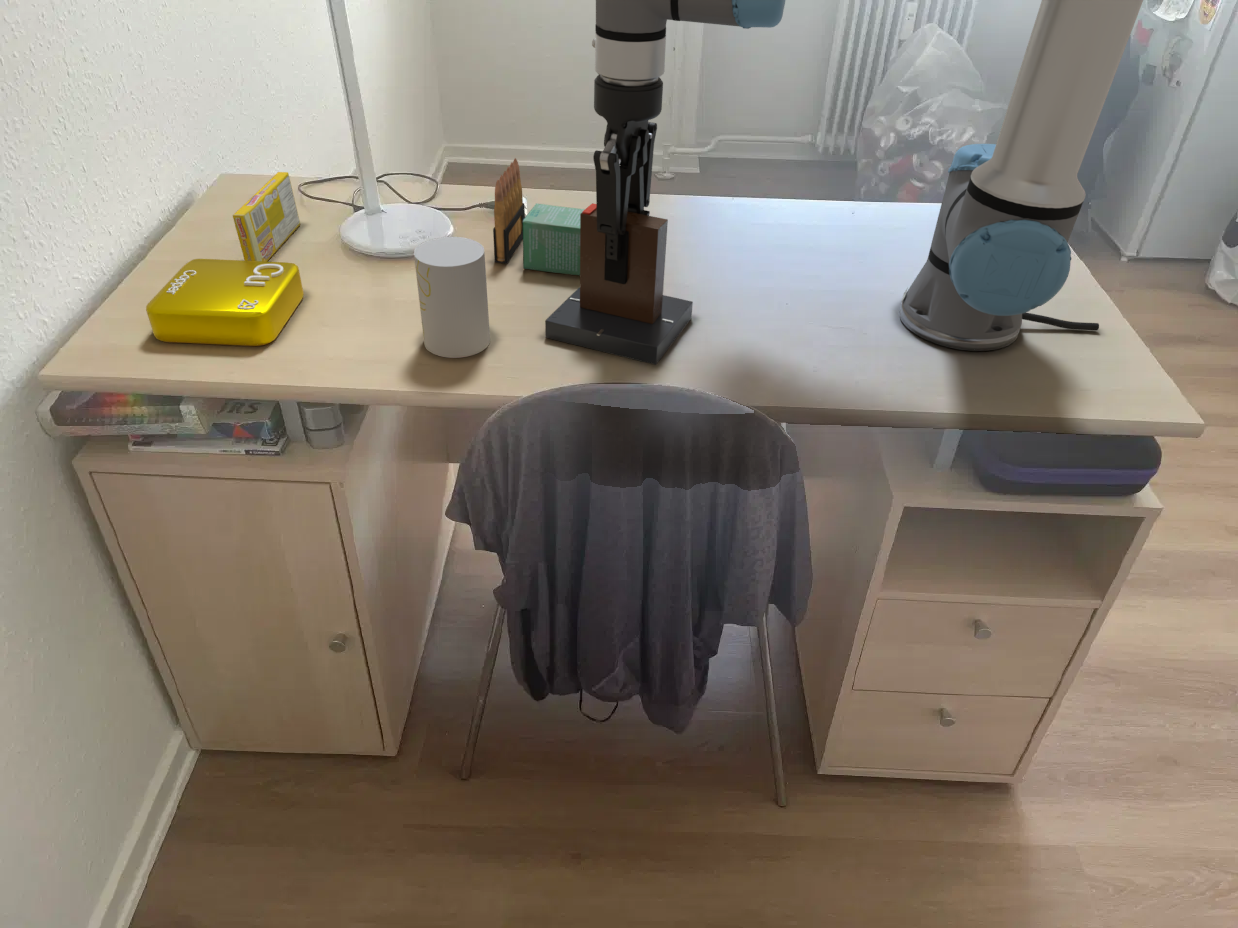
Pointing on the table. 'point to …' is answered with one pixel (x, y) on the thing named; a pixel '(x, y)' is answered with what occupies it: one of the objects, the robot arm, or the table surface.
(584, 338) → the dark grey square slab
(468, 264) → the cup
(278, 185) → the candy box
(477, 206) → the table surface
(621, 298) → the brown red-tipped block
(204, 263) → the element tile
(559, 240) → the box
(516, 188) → the ammunition clip
